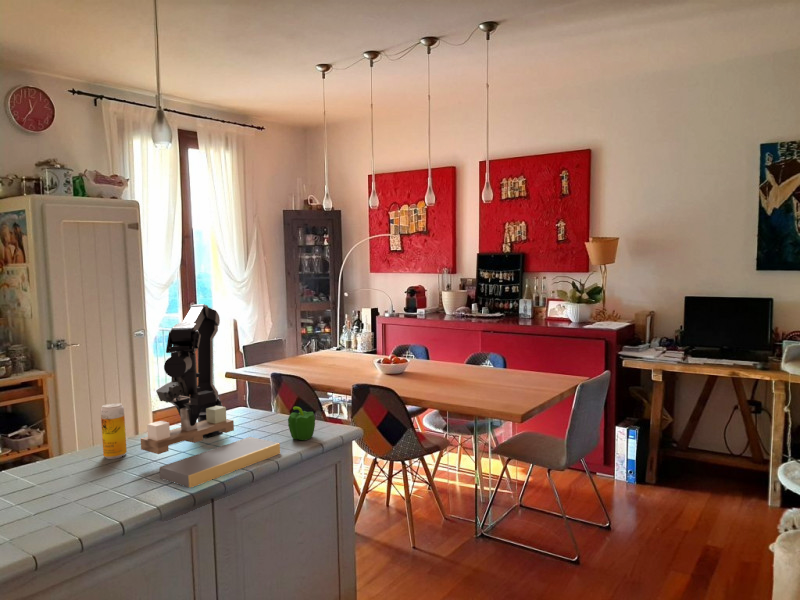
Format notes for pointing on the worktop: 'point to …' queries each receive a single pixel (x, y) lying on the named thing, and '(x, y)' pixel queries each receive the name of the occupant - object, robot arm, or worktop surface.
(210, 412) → the pale olive cube
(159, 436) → the block
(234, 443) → the dock
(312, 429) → the bell pepper
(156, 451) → the pallet
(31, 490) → the worktop surface
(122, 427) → the beer can
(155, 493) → the worktop surface
